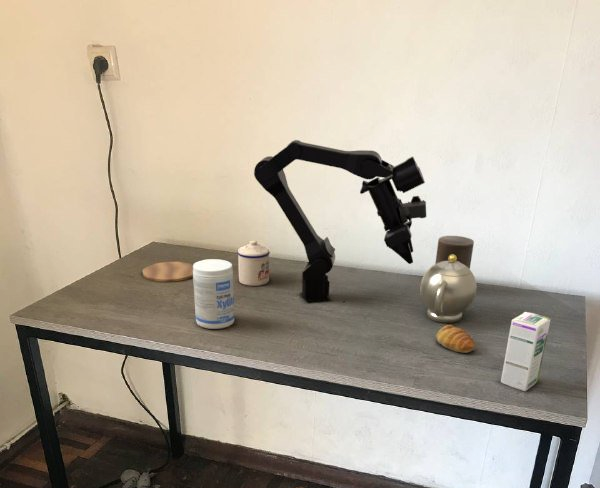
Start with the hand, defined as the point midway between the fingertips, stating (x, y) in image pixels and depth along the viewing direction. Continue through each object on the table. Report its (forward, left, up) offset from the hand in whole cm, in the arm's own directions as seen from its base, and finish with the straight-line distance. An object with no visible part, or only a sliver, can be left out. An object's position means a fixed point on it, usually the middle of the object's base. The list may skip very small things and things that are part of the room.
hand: (411, 257), depth 163 cm
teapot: (+5, -12, -13) cm, 18 cm away
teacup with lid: (-34, +29, -13) cm, 47 cm away
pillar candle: (+18, +9, -13) cm, 24 cm away
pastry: (0, -26, -13) cm, 29 cm away
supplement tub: (-51, +1, -13) cm, 53 cm away
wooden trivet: (-57, +41, -13) cm, 72 cm away
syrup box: (+4, -46, -13) cm, 48 cm away
